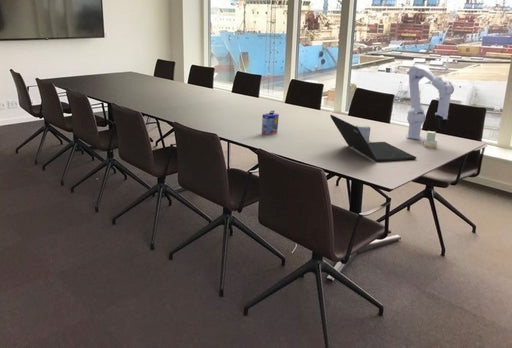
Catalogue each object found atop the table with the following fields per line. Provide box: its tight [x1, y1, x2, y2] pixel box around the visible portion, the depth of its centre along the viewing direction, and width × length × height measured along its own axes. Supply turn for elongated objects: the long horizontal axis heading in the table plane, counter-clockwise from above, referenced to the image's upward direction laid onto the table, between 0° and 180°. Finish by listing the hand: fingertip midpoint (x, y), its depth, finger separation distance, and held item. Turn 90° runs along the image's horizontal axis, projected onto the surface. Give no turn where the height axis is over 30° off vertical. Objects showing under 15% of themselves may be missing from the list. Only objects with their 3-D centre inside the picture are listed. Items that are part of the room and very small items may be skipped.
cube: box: [425, 130, 437, 141], centre depth 279 cm, size 4×4×4 cm
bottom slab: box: [423, 141, 438, 149], centre depth 281 cm, size 7×7×2 cm
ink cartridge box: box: [261, 110, 280, 136], centre depth 295 cm, size 10×6×14 cm, turn 137°
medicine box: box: [355, 125, 371, 142], centre depth 287 cm, size 8×4×9 cm, turn 92°
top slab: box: [423, 137, 438, 146], centre depth 280 cm, size 6×6×2 cm
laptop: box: [329, 114, 417, 162], centre depth 260 cm, size 33×38×19 cm
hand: (439, 128), depth 277 cm, fingers open, 7 cm apart
